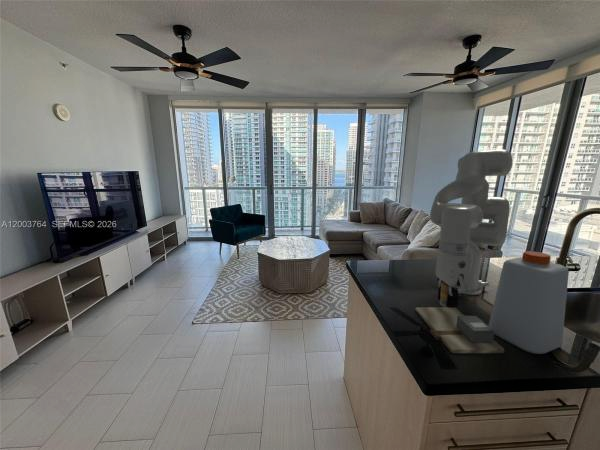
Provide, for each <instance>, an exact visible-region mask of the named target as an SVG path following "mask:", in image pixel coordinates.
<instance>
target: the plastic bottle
mask: <svg viewBox="0 0 600 450" xmlns="http://www.w3.org/2000/svg"><path fill="white" fill-rule="evenodd" d="M569 273H570V271H569V269H568V268H567V266H564V265H562V264H560V263H555V262H551V255H549V254H547V253H545V252H539V251H531V250H529V251H527V250H526V251H524V252H523V253H522V256H521V257H520V256H519V257H515V258H511V259H506V260H504V261H503V265H502V269H501V272H500V276H499V280H498V285H497V289H496V294H495V297H494V302H493V306H492V309H491V313H490V314H491V315H490V319H489V322H488V326H489V327H490V328H492V329H493V330H494V335H495V336H496V337H498V338H501V339H503V340H504V341H506V342H508V343H509V344H512V345H514V346H515V347H518V348H519V349H521V350H523V351H525V352H527V353H531V354H534V355H543V354H547V353H549V352H552V351H554V350H556V349H558V348H560V347H562V346H563V340H564V330H565V329H564V328H565V327H564V326H565V319H566V318H565V317H566V305H567V292H568V284H569Z"/></svg>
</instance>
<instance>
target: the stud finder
mask: <svg viewBox="0 0 600 450" xmlns="http://www.w3.org/2000/svg"><path fill="white" fill-rule="evenodd" d="M456 327H457V328H458V329H459V330H460V331H461V332H462V333H463V334H464V335H465V336H466V337H467V338H468V339H469V340H470V341H471V342H493V336H494V335H495V334H494V330H493V329H492V328H490V327H489V324H486V322H484V321H483V320H482V319H480V318H479V317H478V316H477V315H465V316H457V325H456Z"/></svg>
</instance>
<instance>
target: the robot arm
mask: <svg viewBox="0 0 600 450" xmlns="http://www.w3.org/2000/svg"><path fill="white" fill-rule="evenodd" d="M512 167H513V156H512V153H511V152H510V151H509V150H507V149H487V150H475V151H470V152H467V153H466V154H465V155H463V156H461V157H460V158H459V159H458V161H457V173H456V174H457V175H456V177H455V180H453V181H451V182H450V183H448V184H447V185H445V186H444V187H443V188H441V189H440V190H439V191H438V192H437V193H436V195H435V197H434V199H433V202H432V206H431V209H430V212H429V213H430V215H429V216H430V221H431V222H432V224H434V225H436V226H440V231H439V232H440V233H439V244H438V253H437V259H436V263H435V276H436V277H437V281H438V283H437V287H438V291H437V292H438V293H437V300H438V301H440V294H441V284H442V282H445V283H447V284H448V285H449V295H447V303H446V306H447V307H455V308H458V305H459V297H460V296H461V294H463V295H469V296H476V295H480V294H482V293H483V292H482V288H483V287H489V286H490V283H489V282H488V281H482V280H480V273H481V272H480V271H481V267H482V266H481V265H482V257H483V254H482V251H481V249H480V247H478V245H484V246H492V247H500V246H503V245H504V244H505V243H506V239H507V234H508V226H509V218H510V211H511V210H510V209H511V208H510V202H509V199H507V198H505V197H502V196H489V187H490V184H489V182H488V180H487V179H486V177H500V176H501V177H503V176H507V175H509V173H510V172H511V171H512ZM457 199H463V200H462V203H455V202H454V203H453V202H451V201H455V200H457ZM483 220H487V222H485V221H483ZM488 221H492V222H488ZM455 284H456V285H455ZM453 288H456V289H455V290H453Z"/></svg>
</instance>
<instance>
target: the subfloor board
mask: <svg viewBox="0 0 600 450" xmlns="http://www.w3.org/2000/svg"><path fill="white" fill-rule="evenodd" d="M415 311H416V313H418V315H419V317H421V319H423V320H424V322H425V323H426V324H427V325H428V326H429V328H430V330H429V333H430V334H431V336H433V338H434V339H435V340H436V341H441V342H442V343H443V344H444V345H445V346H446V347H447V349H448V350H449V351H450V352H451V353H452V354H504V353H505V348H504V347H503V346H501V345H500V344H499V343H498V342H497V341H495V340H494V337H495V336H494V335H493V342H471V341H470V340H469V339H468V338H467V337H466V336H465V335H464V334H463V333H462V332H461V331H460V330H459V329H458V328H457V327H456V325H457V316H466V315H465V314H463V313H462V312H461V311H460V310H459V309H457V307H454V308H446V307H443V306H442V307H441V306H436V307H431V306H428V307H427V306H426V307H424V306H422V307H418V306H417V307H415Z"/></svg>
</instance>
